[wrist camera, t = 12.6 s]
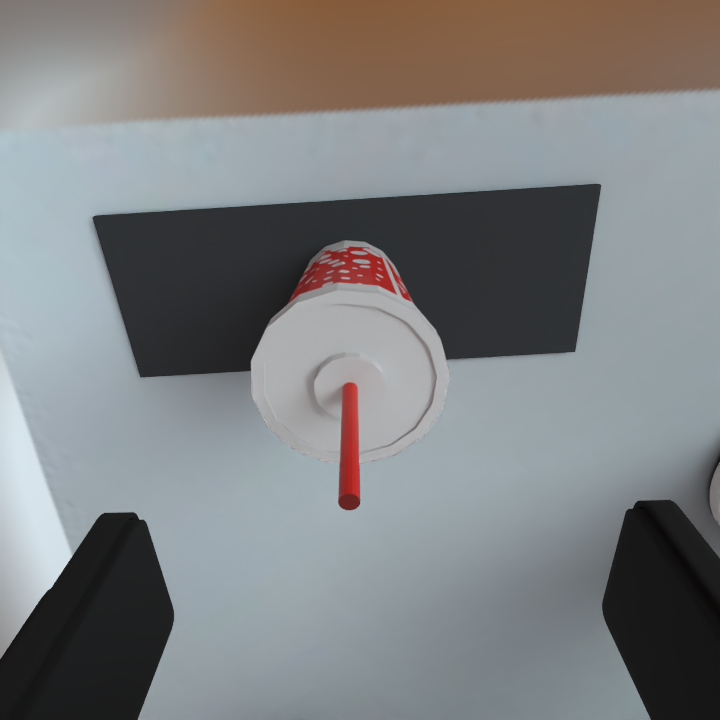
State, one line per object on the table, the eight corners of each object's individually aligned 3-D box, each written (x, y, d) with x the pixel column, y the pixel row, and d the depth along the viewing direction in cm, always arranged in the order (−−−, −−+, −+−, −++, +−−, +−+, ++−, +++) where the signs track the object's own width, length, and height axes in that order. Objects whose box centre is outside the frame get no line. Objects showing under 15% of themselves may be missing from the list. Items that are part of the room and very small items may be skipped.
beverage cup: (259, 299, 23) (152, 521, 11) (338, 193, 21) (319, 316, 9) (361, 370, 25) (370, 630, 13) (443, 278, 23) (551, 482, 11)
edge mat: (598, 183, 21) (601, 184, 21) (573, 349, 25) (575, 352, 25) (95, 215, 22) (92, 216, 21) (142, 374, 25) (140, 377, 25)
